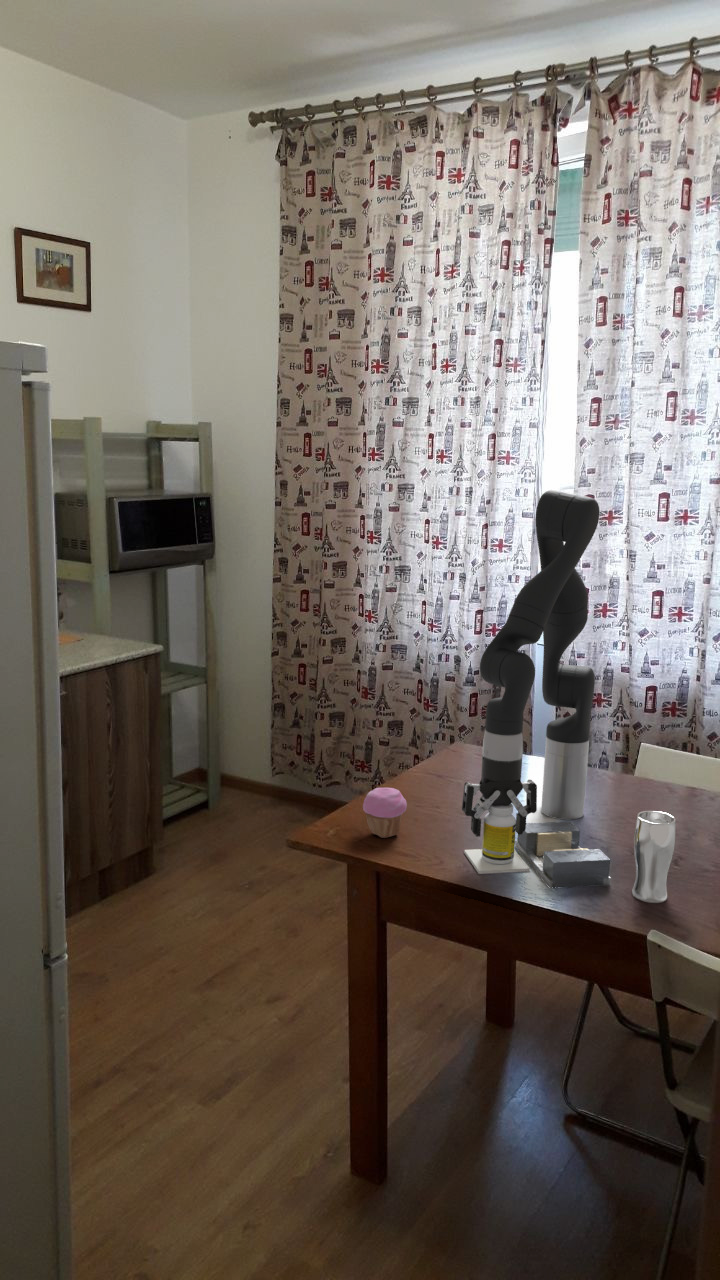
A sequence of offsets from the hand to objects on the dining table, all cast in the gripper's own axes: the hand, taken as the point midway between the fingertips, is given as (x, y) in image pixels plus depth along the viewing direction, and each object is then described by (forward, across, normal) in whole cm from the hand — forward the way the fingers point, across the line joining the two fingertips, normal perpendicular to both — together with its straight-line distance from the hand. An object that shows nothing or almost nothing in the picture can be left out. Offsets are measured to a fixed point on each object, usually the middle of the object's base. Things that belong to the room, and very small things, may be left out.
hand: (497, 834), depth 192 cm
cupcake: (+6, +19, -16) cm, 26 cm away
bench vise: (+6, -12, +3) cm, 14 cm away
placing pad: (+6, 0, 0) cm, 6 cm away
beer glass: (+6, -23, +18) cm, 30 cm away
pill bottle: (+5, 0, 0) cm, 5 cm away
